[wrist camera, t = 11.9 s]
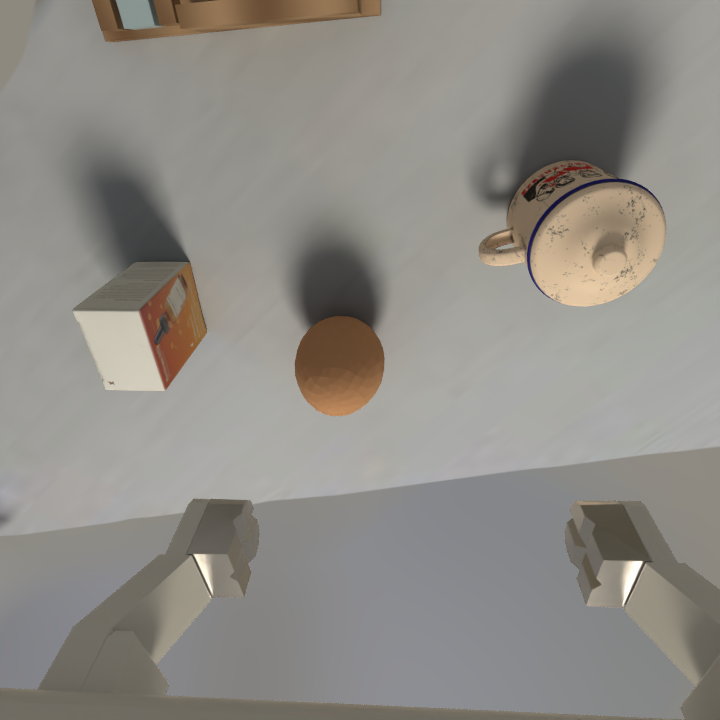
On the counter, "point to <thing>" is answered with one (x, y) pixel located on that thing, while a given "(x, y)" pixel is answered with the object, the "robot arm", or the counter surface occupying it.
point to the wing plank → (138, 14)
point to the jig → (228, 15)
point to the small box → (143, 325)
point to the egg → (339, 365)
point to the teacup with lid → (580, 233)
